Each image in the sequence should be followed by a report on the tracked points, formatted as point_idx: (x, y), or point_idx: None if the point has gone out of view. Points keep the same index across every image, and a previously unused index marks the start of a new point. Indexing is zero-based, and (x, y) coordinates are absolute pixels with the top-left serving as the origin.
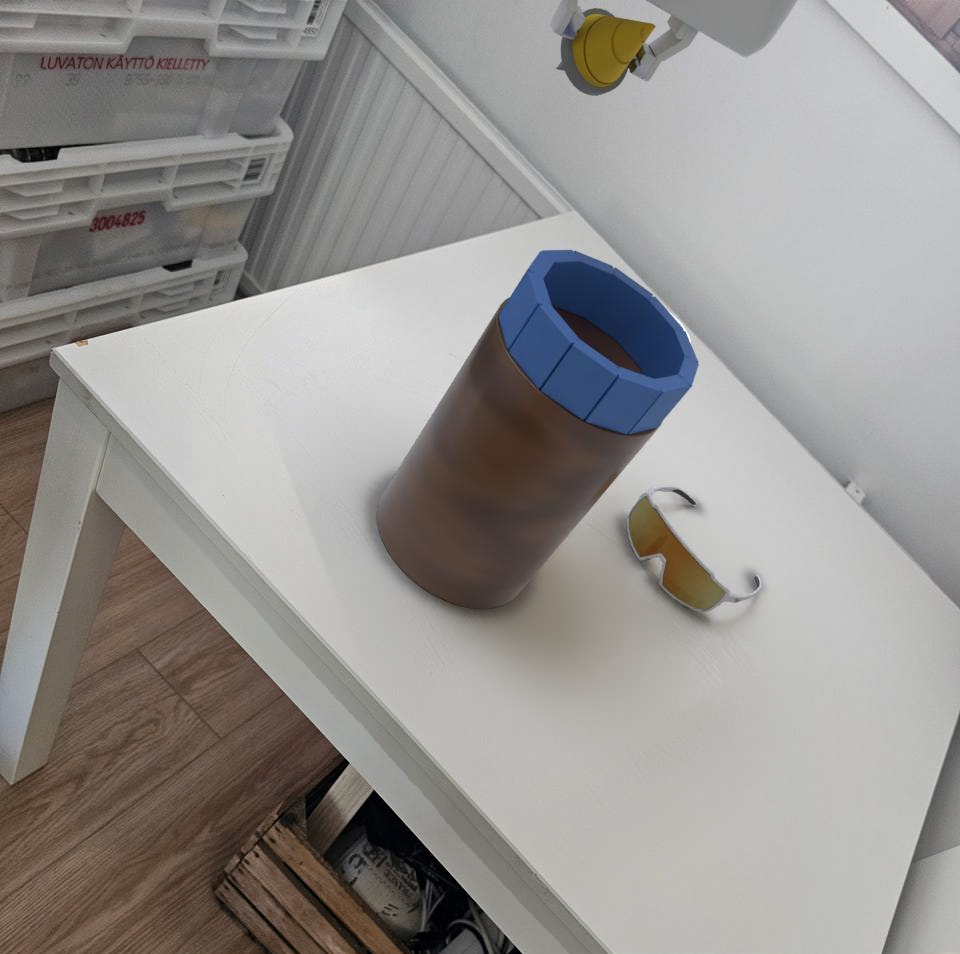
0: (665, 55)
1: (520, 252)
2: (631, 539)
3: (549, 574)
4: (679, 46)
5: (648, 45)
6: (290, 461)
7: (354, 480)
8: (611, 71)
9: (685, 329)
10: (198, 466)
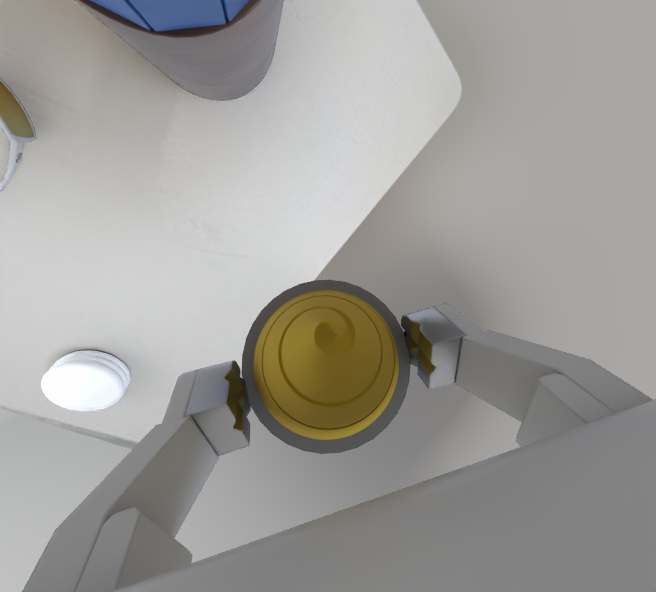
0: (156, 438)
1: None
2: (20, 106)
3: None
4: (106, 495)
5: (219, 451)
6: (342, 58)
7: (296, 60)
8: (297, 299)
9: (54, 402)
10: (401, 16)
